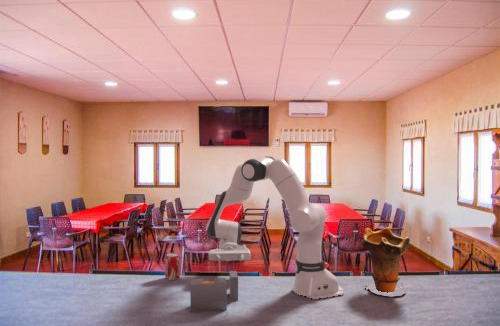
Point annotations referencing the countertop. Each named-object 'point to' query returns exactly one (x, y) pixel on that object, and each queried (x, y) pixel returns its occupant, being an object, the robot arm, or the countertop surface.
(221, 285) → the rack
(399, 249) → the decorative vase
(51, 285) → the countertop surface
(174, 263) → the soda can
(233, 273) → the grey block
